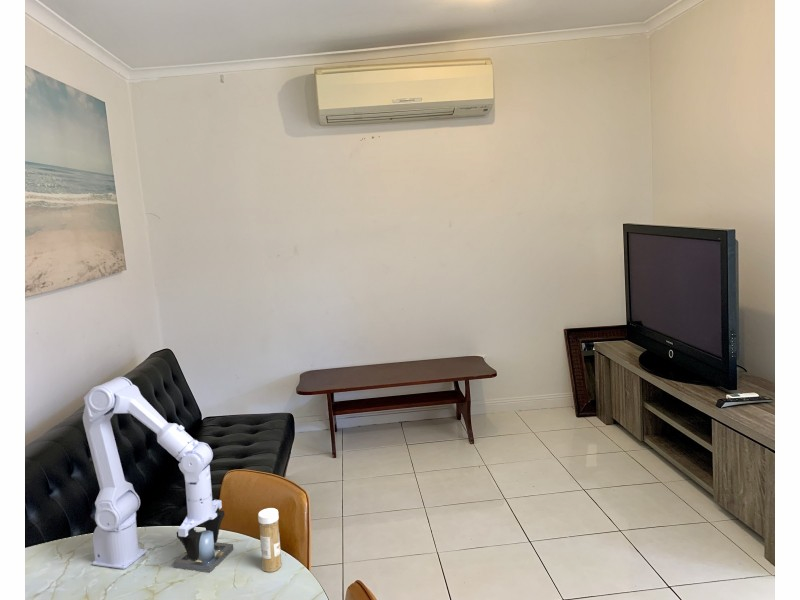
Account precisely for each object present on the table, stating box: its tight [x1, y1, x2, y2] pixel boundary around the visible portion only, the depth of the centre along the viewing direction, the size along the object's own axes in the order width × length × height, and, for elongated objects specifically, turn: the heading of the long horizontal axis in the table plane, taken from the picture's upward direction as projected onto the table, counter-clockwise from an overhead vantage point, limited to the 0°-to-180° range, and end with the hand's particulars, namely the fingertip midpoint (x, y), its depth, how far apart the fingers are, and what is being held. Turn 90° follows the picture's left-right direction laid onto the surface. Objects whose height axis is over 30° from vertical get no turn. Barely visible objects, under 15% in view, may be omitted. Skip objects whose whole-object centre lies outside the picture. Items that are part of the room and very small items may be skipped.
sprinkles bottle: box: [257, 507, 283, 573], centre depth 130 cm, size 5×5×14 cm
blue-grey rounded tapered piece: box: [195, 529, 216, 563], centre depth 135 cm, size 6×4×6 cm
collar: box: [172, 541, 235, 573], centre depth 135 cm, size 10×10×2 cm
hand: (203, 550), depth 135 cm, fingers open, 7 cm apart
